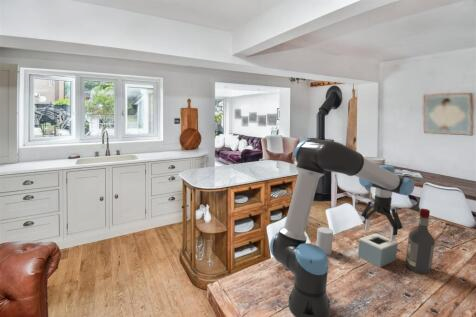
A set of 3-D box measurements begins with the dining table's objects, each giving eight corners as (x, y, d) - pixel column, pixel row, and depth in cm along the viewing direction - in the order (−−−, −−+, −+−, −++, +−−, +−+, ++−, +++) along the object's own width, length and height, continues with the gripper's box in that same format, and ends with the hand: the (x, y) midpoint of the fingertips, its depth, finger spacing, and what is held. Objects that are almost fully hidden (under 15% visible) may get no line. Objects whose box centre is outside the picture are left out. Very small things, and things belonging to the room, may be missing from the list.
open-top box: (379, 267, 129) (381, 248, 127) (358, 256, 139) (359, 238, 137) (395, 260, 136) (397, 242, 134) (373, 250, 146) (375, 233, 144)
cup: (332, 255, 139) (334, 234, 138) (316, 253, 141) (318, 232, 139) (330, 248, 147) (331, 227, 145) (315, 246, 149) (316, 226, 147)
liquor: (424, 265, 132) (432, 207, 127) (432, 275, 123) (440, 214, 118) (403, 262, 134) (410, 205, 130) (410, 271, 125) (417, 212, 121)
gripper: (413, 201, 123) (408, 243, 127) (365, 188, 145) (361, 225, 148) (405, 203, 120) (400, 247, 123) (356, 190, 141) (353, 227, 144)
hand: (379, 235), depth 135 cm, fingers open, 13 cm apart
